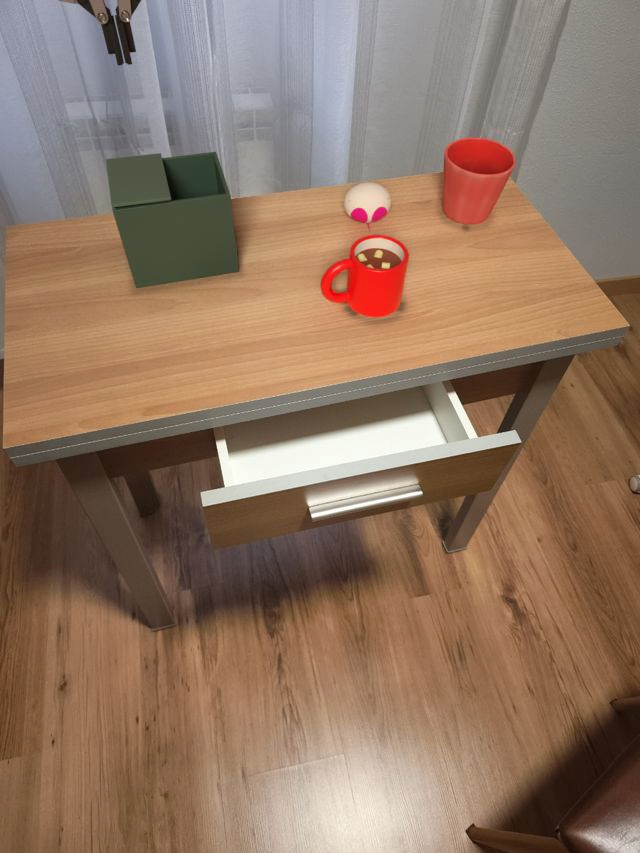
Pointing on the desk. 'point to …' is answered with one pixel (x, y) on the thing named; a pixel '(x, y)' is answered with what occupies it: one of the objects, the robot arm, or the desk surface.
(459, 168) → the flower pot
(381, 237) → the mug
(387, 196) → the toy mouse
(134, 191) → the green flat rectangular panel
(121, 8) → the robot arm
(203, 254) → the green hollow box
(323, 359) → the desk surface
